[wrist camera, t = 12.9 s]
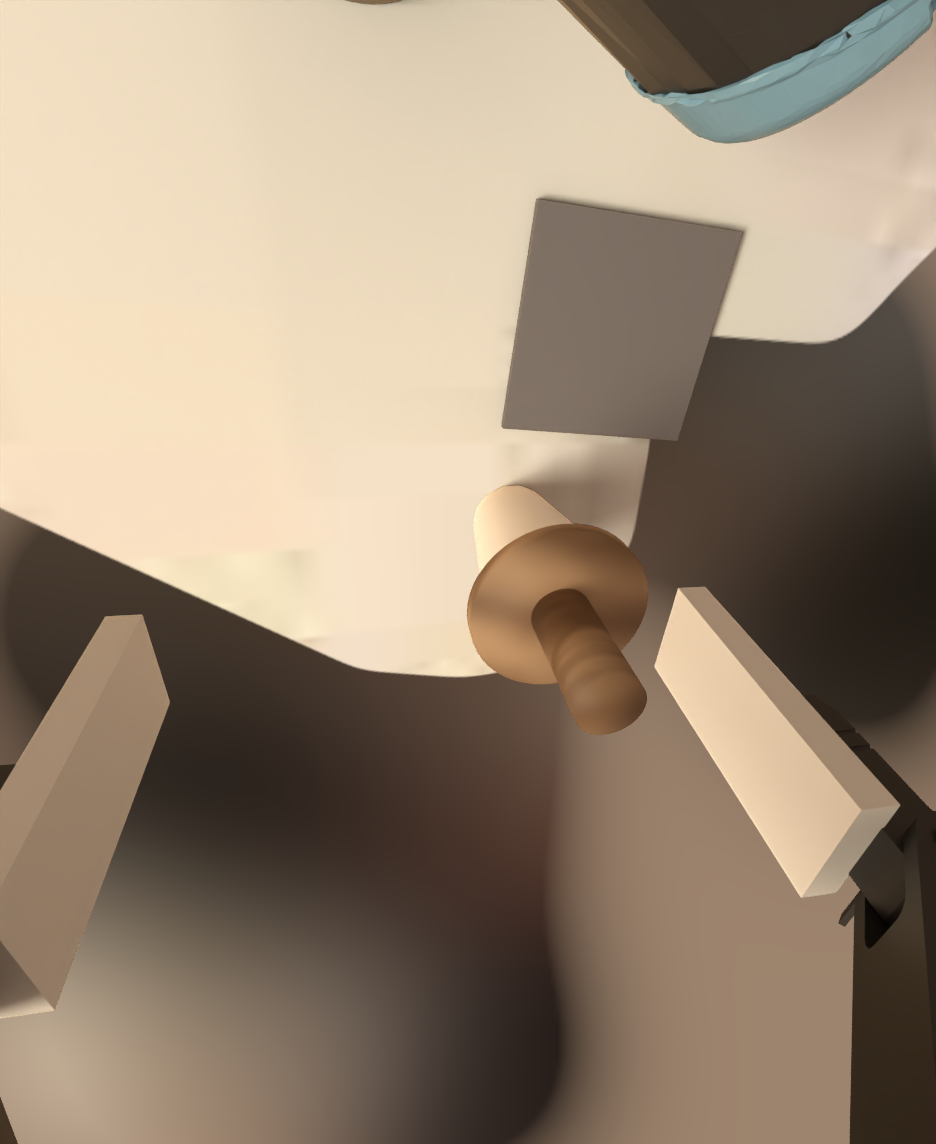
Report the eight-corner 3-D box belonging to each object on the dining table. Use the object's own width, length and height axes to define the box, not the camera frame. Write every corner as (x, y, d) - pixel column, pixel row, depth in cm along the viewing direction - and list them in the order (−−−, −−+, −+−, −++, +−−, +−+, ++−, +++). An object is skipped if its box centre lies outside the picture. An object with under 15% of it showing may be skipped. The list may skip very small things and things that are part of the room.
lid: (480, 520, 34) (521, 614, 26) (662, 526, 37) (752, 614, 28) (457, 674, 40) (484, 790, 32) (615, 671, 43) (677, 777, 34)
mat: (536, 199, 37) (538, 199, 37) (737, 231, 40) (742, 232, 40) (501, 426, 45) (503, 428, 44) (673, 438, 48) (677, 440, 47)
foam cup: (566, 463, 47) (631, 536, 37) (559, 559, 52) (615, 648, 41) (453, 473, 46) (486, 551, 35) (457, 570, 51) (486, 666, 40)
